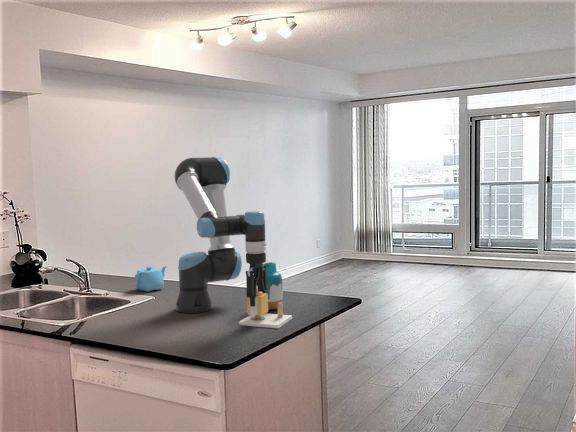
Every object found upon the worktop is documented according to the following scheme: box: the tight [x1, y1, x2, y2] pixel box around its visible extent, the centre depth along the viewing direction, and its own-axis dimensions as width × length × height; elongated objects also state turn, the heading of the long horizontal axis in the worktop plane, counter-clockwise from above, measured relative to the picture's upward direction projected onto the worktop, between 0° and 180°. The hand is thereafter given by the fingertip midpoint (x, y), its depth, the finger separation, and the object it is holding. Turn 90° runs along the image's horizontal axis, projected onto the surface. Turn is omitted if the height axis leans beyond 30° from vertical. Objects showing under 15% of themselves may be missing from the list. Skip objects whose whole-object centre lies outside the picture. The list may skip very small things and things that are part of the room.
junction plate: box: [238, 301, 293, 329], centre depth 213 cm, size 16×14×7 cm
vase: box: [256, 261, 284, 311], centre depth 232 cm, size 11×11×19 cm
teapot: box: [134, 265, 168, 293], centre depth 276 cm, size 12×18×12 cm
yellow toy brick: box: [246, 290, 269, 316], centre depth 213 cm, size 6×6×8 cm
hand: (257, 312), depth 213 cm, fingers closed on yellow toy brick, 6 cm apart
